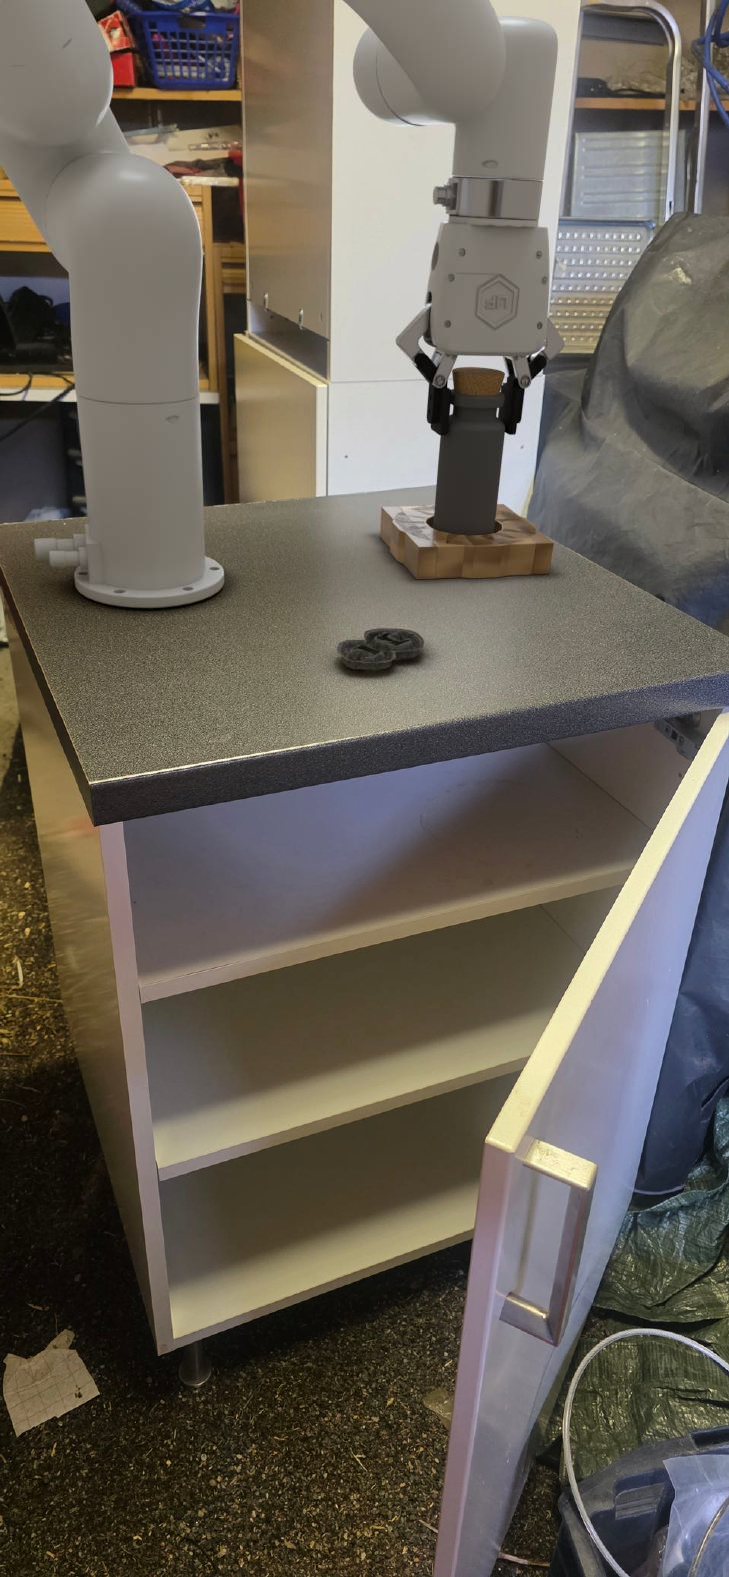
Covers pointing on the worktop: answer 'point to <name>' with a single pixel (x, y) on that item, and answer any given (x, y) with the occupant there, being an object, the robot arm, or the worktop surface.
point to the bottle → (471, 454)
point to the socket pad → (464, 545)
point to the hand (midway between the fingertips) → (473, 430)
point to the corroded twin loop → (380, 648)
